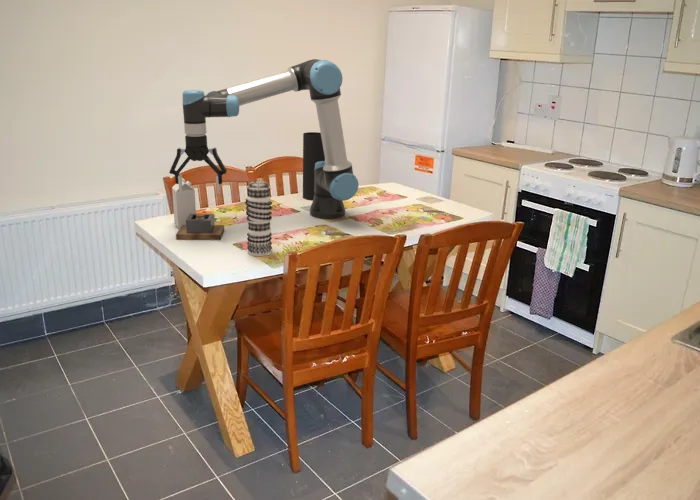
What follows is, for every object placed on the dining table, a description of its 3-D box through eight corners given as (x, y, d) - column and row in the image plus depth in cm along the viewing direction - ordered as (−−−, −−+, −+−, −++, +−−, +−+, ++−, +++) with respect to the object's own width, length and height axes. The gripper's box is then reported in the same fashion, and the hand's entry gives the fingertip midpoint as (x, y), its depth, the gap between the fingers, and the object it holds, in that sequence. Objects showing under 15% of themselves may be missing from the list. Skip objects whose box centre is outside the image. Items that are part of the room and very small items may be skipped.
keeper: (224, 230, 236) (223, 210, 233) (220, 240, 224) (219, 219, 222) (182, 229, 234) (181, 209, 232) (176, 239, 223) (174, 218, 221)
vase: (302, 194, 292) (302, 132, 282) (323, 194, 293) (324, 132, 283) (303, 200, 282) (303, 135, 272) (324, 200, 283) (326, 135, 273)
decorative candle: (241, 254, 211) (239, 183, 203) (254, 246, 219) (253, 178, 211) (264, 258, 208) (263, 186, 200) (277, 250, 216) (276, 181, 208)
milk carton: (178, 229, 235) (175, 181, 229) (174, 224, 241) (171, 177, 235) (196, 227, 238) (194, 179, 232) (192, 222, 244) (189, 175, 238)
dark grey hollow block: (214, 226, 233) (214, 213, 232) (211, 233, 225) (210, 220, 223) (190, 226, 233) (190, 213, 231) (186, 233, 224) (185, 220, 223)
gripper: (232, 133, 221) (235, 189, 229) (162, 132, 220) (167, 190, 227) (229, 136, 214) (232, 195, 222) (157, 136, 212) (163, 195, 220)
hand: (199, 192), depth 224 cm, fingers open, 13 cm apart
